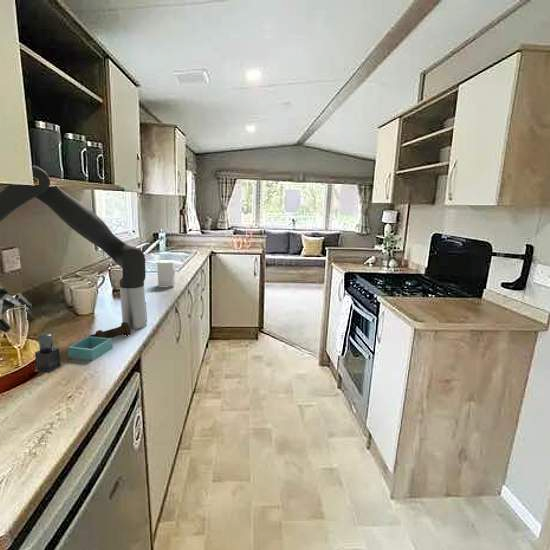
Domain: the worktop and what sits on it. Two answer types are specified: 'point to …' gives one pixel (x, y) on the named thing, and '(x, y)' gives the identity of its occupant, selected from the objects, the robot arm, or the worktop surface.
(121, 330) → the brown bone toy
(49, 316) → the worktop surface
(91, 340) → the bin
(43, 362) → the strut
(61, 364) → the stud plate
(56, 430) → the worktop surface
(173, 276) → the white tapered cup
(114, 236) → the robot arm
